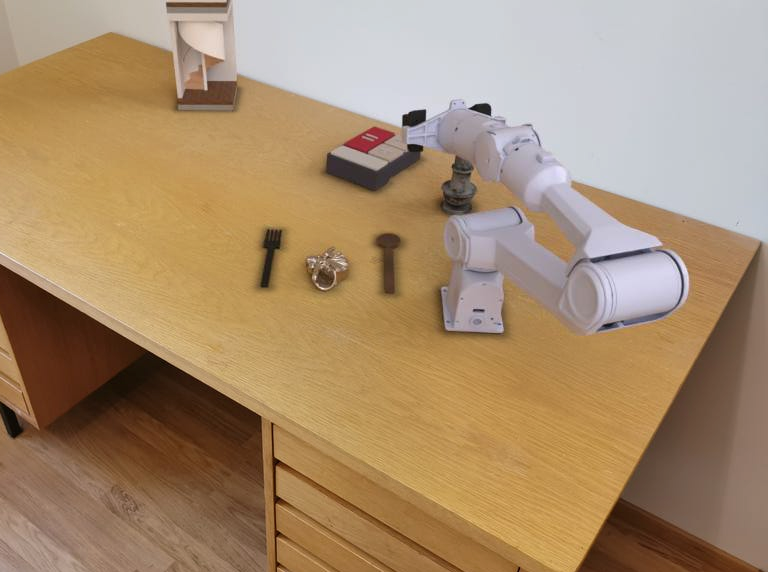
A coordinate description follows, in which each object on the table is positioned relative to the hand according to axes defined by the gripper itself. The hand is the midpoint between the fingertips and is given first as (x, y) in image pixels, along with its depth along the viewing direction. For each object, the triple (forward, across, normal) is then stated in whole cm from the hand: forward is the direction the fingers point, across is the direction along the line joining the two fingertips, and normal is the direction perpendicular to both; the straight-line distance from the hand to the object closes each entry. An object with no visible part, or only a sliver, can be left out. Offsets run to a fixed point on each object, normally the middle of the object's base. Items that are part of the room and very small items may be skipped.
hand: (429, 119), depth 108 cm
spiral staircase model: (+61, +23, +4) cm, 65 cm away
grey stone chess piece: (+9, -10, +17) cm, 22 cm away
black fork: (+4, +24, +19) cm, 31 cm away
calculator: (+26, -1, +13) cm, 29 cm away
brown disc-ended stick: (-2, +7, +20) cm, 22 cm away
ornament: (-3, +17, +21) cm, 27 cm away
